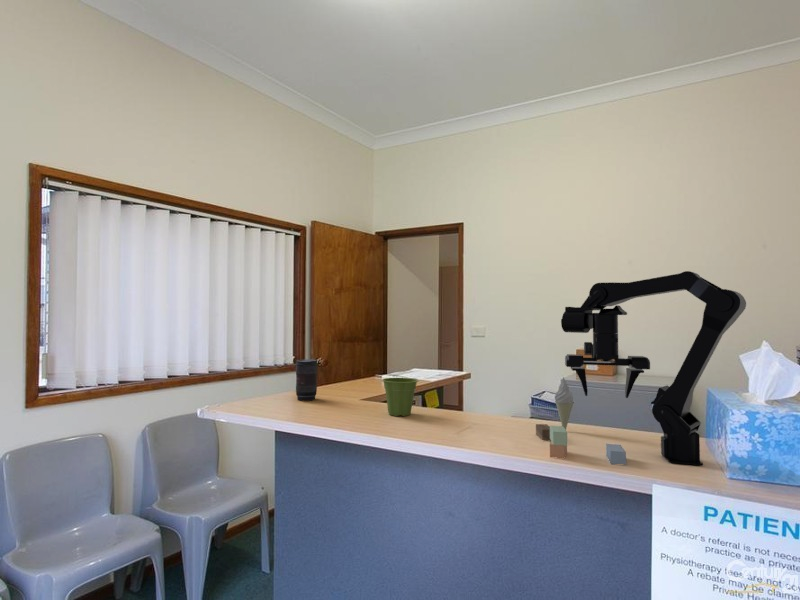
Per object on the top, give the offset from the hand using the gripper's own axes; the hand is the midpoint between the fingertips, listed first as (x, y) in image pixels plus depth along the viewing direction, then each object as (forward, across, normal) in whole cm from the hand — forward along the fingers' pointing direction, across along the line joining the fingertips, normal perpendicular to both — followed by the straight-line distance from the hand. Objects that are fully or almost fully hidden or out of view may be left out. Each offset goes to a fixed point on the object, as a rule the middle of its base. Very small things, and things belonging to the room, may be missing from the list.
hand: (606, 396), depth 113 cm
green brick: (+9, +12, +11) cm, 19 cm away
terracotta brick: (+12, +12, +11) cm, 20 cm away
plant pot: (+12, +59, -21) cm, 64 cm away
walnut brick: (+12, +14, -4) cm, 19 cm away
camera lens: (+12, +101, -37) cm, 108 cm away
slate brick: (+12, 0, +12) cm, 17 cm away
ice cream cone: (+12, +9, -13) cm, 20 cm away
